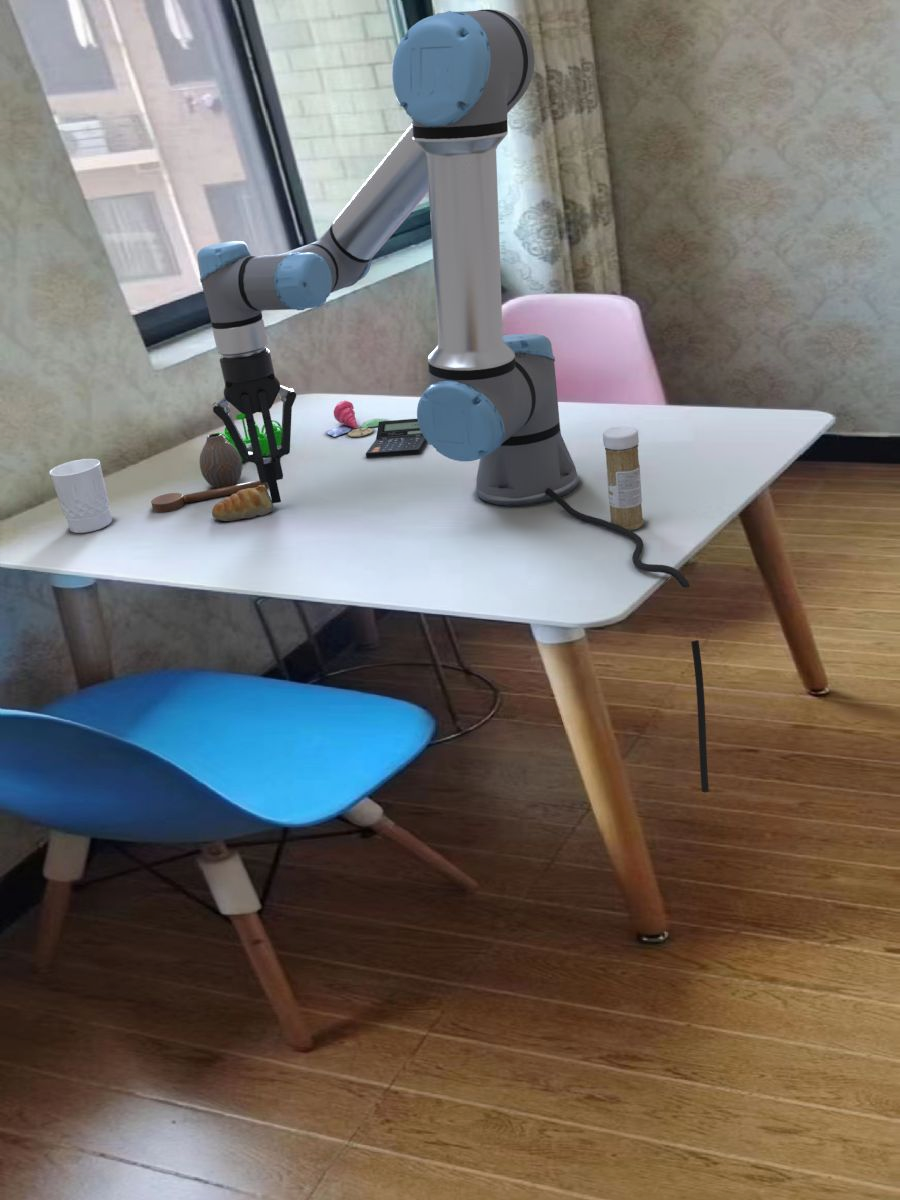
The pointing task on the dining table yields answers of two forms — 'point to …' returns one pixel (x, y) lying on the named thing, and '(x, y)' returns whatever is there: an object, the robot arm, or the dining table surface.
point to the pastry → (244, 504)
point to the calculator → (397, 439)
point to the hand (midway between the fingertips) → (276, 499)
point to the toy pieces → (350, 421)
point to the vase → (220, 462)
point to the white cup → (82, 494)
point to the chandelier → (261, 436)
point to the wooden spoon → (197, 496)
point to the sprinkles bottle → (623, 476)
